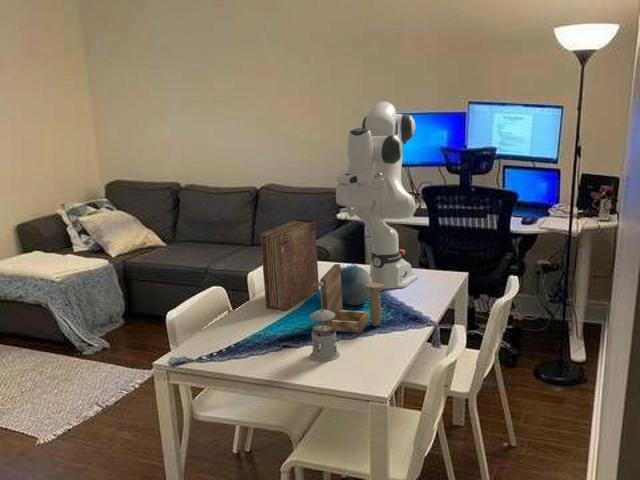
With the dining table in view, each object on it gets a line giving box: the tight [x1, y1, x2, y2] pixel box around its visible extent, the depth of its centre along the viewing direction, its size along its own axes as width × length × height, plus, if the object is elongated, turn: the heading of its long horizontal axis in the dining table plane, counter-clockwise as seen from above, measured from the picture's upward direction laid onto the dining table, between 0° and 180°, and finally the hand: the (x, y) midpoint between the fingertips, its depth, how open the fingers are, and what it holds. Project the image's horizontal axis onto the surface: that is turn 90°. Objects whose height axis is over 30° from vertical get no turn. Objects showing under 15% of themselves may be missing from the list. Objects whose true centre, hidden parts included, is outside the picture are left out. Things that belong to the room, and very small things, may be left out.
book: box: [259, 219, 320, 312], centre depth 261 cm, size 25×9×30 cm, turn 149°
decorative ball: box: [341, 265, 373, 306], centre depth 254 cm, size 15×15×15 cm
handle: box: [366, 283, 384, 327], centre depth 232 cm, size 5×6×15 cm
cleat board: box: [319, 263, 370, 333], centre depth 232 cm, size 13×18×20 cm
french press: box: [309, 281, 341, 363], centre depth 210 cm, size 10×12×25 cm
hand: (362, 214), depth 233 cm, fingers open, 8 cm apart
